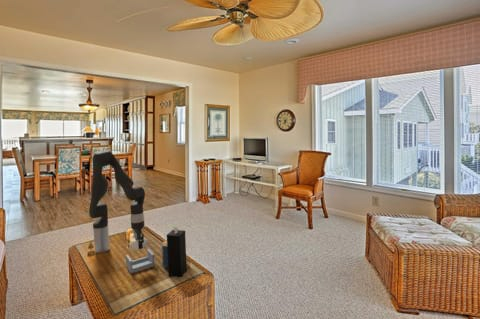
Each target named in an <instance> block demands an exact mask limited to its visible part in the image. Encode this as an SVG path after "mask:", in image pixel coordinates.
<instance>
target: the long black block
mask: <svg viewBox="0 0 480 319" xmlns="http://www.w3.org/2000/svg"><path fill="white" fill-rule="evenodd" d="M166 240H167V251H168V269H167V270H168V277H172V278H173V277H175V278H182V277H183V276H184V275H185V274H186V272H187V271H188V270H187V267H188V265H187V244H186V243H187V242H186V230H183V229H182V230H181V229H179V227H177V226H176V227H175V226H173V229H172V230H170V231H169V232H168V233H167V234H166Z"/></svg>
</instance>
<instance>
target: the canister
mask: <svg viewBox="0 0 480 319" xmlns="http://www.w3.org/2000/svg"><path fill="white" fill-rule="evenodd" d="M161 250H162V251H161V258H162V261H161V262H162V267H163V268H164V269H167V270H168V251H167V239H166V240H164V241H163V242H162V245H161Z"/></svg>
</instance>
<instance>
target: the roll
mask: <svg viewBox="0 0 480 319" xmlns="http://www.w3.org/2000/svg"><path fill="white" fill-rule="evenodd" d="M140 241H141V240H140ZM148 243H149V242H148V239H147V238H146V237H144V242H143V243H142V245H143V248H142V249H145V248H148V245H149V244H148ZM129 248H130V251H131V252H134V251H136V250H140V249H139V246H138V240H135V239H134V240H132V241H129Z"/></svg>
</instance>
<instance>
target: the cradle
mask: <svg viewBox="0 0 480 319" xmlns="http://www.w3.org/2000/svg"><path fill="white" fill-rule="evenodd" d="M146 252H147V254H146V255H147V256H144V257H140V258H137V259H135V260H132V258H131V257H130V256H129V254H125V261H126V263H125V264H126V267H127V268H126V269H127V270H128V271H129V273H130V274H134V273H138V272H140V271H143V270H146V269H149V268H153V267H155V254H154V253H153V251H152V250H151V249H150V248H147V249H146Z"/></svg>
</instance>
